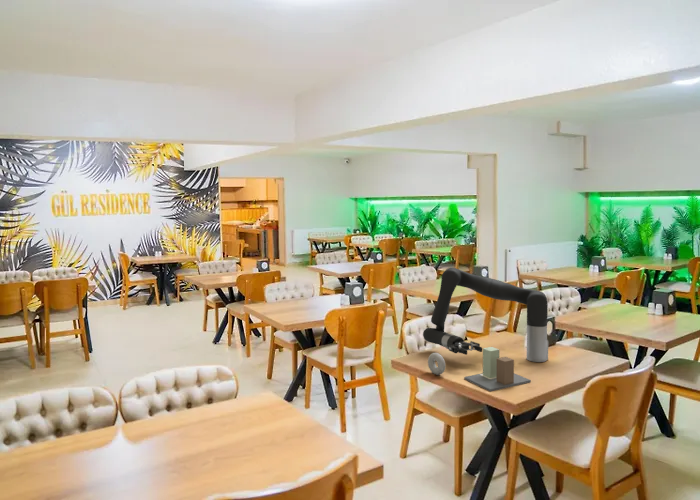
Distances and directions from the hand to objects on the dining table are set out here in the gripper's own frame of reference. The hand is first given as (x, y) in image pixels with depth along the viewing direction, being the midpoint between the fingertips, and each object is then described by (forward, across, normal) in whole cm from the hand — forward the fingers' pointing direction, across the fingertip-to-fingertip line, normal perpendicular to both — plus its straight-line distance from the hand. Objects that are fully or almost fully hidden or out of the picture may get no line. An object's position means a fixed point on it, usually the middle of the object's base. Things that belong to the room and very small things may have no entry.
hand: (474, 351), depth 244 cm
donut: (-4, -18, +9) cm, 21 cm away
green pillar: (+12, 0, +8) cm, 14 cm away
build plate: (+15, 0, +9) cm, 18 cm away
